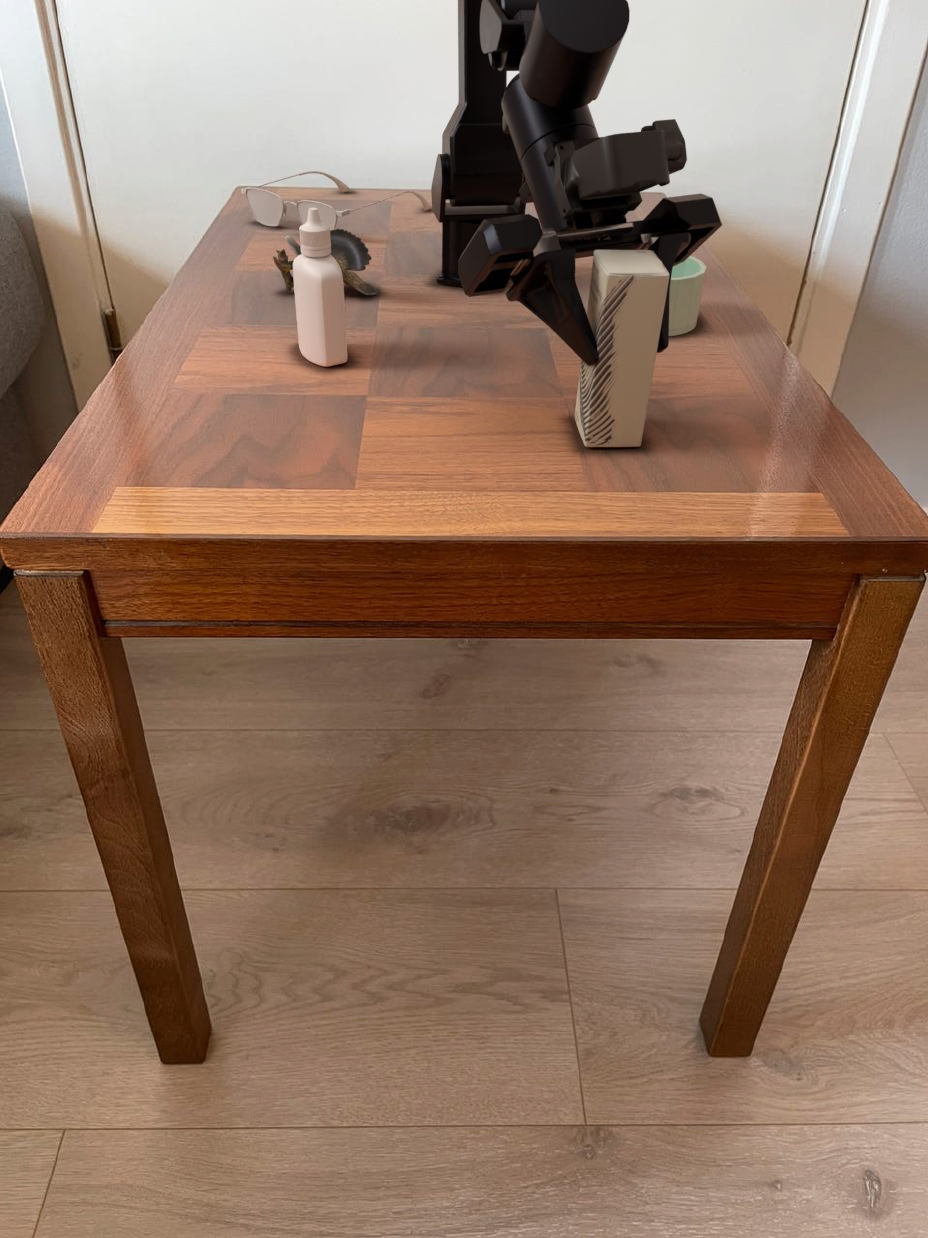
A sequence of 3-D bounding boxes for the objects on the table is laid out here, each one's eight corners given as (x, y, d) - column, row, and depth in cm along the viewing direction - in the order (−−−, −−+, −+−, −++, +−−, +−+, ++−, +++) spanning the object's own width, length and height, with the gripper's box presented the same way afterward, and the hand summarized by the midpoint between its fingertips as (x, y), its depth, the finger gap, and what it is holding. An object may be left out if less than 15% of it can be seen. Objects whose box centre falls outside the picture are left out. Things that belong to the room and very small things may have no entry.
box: (572, 418, 75) (590, 246, 67) (628, 418, 75) (653, 246, 67) (585, 451, 71) (605, 271, 63) (644, 450, 71) (672, 271, 63)
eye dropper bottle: (350, 343, 86) (343, 199, 79) (347, 368, 81) (338, 219, 74) (300, 342, 86) (288, 198, 78) (294, 368, 81) (281, 218, 74)
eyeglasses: (242, 220, 115) (238, 184, 113) (342, 189, 127) (340, 156, 125) (342, 245, 108) (340, 207, 106) (437, 210, 120) (437, 175, 118)
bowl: (596, 329, 90) (602, 272, 87) (614, 299, 96) (620, 244, 93) (689, 342, 88) (699, 284, 85) (702, 310, 94) (711, 255, 91)
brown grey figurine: (281, 301, 91) (376, 281, 90) (264, 223, 90) (359, 203, 90) (294, 319, 98) (382, 300, 98) (278, 247, 98) (366, 229, 97)
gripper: (482, 79, 58) (563, 323, 57) (730, 64, 65) (807, 282, 64) (426, 188, 68) (494, 396, 67) (646, 166, 75) (710, 354, 74)
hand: (628, 356), depth 68 cm, fingers closed on box, 5 cm apart
